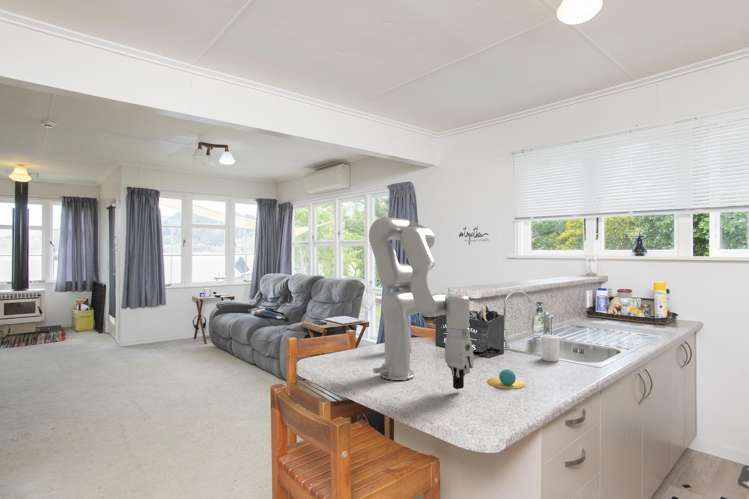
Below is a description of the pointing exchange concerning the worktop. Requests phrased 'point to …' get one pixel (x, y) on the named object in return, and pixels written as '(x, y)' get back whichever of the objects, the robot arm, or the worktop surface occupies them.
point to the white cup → (550, 347)
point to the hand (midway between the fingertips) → (458, 387)
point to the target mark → (497, 383)
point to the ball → (507, 377)
